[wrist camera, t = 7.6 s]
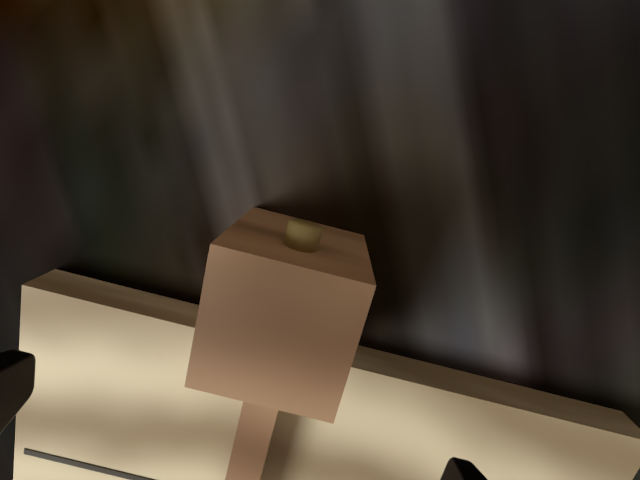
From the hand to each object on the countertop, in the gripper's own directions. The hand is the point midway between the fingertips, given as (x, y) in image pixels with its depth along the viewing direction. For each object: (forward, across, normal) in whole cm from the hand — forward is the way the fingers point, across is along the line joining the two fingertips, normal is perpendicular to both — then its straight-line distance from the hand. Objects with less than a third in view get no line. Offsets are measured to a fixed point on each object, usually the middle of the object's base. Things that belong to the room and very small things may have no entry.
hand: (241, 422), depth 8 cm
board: (+10, -3, +9) cm, 14 cm away
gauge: (+10, 0, +5) cm, 11 cm away
